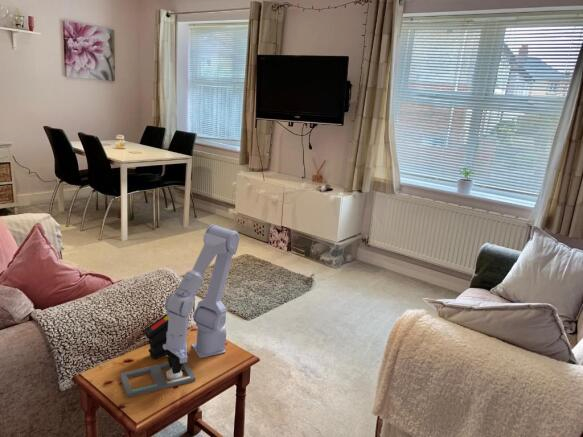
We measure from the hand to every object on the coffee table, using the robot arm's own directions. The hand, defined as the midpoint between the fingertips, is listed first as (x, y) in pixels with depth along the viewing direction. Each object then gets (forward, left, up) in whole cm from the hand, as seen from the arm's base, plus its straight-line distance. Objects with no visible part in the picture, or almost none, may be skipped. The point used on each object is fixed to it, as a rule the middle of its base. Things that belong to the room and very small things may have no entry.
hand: (174, 369), depth 134 cm
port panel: (+5, 0, -2) cm, 5 cm away
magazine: (0, -12, -2) cm, 12 cm away
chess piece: (0, 0, -2) cm, 2 cm away
